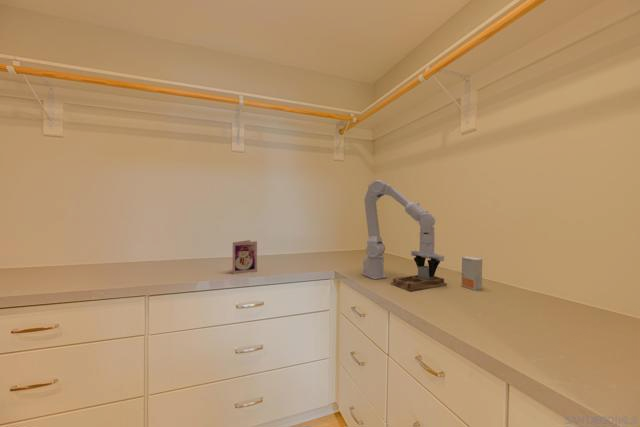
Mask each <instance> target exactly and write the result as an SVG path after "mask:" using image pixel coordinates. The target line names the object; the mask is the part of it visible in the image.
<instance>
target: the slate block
mask: <svg viewBox="0 0 640 427" xmlns="http://www.w3.org/2000/svg"><path fill="white" fill-rule="evenodd" d="M417 275H418V278H419V279H423V280H426V281H427V280H434V277H430V276H429V265H424V266H420V267H417Z"/></svg>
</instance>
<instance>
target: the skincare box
mask: <svg viewBox="0 0 640 427" xmlns="http://www.w3.org/2000/svg"><path fill="white" fill-rule="evenodd" d="M460 284H461V287H464V288H467V289H470V290H472V291H478V290H482V289H483V288H482V287H483V286H482V285H483V258H479V257H474V256H469V255H468V256H462V257H461V283H460Z"/></svg>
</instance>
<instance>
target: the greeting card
mask: <svg viewBox="0 0 640 427" xmlns="http://www.w3.org/2000/svg"><path fill="white" fill-rule="evenodd" d="M249 272H250V273H257V272H258V240H256V241H251V240H250V239H247V240H242V241H241V240H240V241H235V242H232V275H236V274H237V275H238V274H239V273H240V274H246V273H248V274H249ZM240 274H239V275H240Z"/></svg>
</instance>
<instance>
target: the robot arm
mask: <svg viewBox="0 0 640 427" xmlns="http://www.w3.org/2000/svg"><path fill="white" fill-rule="evenodd" d="M367 188H368V189H367V191H366V193H365V197H364V199H363V200H364V206H365V208H364V209H365V217H366V218H365V219H366V227H367V232H368V235H367V236H368V238H367V242H366V244H367V246H366V249H365V250H366V251H365V252H366V256H365V257H364V259H363V264H362V266H363V267H362V268H363V272H362V273H361V275H363V276H365V277H367V278H371V279H373V280H378V279H385V278H388V275H385V274H384V272H385V269H384V264H385V260H384V258H385V256H384V255H383V254H384V253H385V251H386V247H385V246H386V245H385V244H384V243H383V239H382V237H381V235H380V234H381V232H380V226H379V217H378V209H377V208H378V207H377V202H378V201H379V199H380V198H382V197H383V196H389V197H391V198H393V199H394V200H395V201H396V202H398V203H399V204H400V205H402V207H404V211H405V213H406V214H407V215H408V216H410V217H411V218H412V219H413V220H415V221H416V222H418V225H419V227H420V228H419V229H420V230H419V231H420V232H419V251H418V250H411V251H410V252H411V253H410V255H411V256H412V257H413V260H414V262H415V265H416V267H417V268H418V267H420V266H425V263H426V260H427V264H428V265H427V266H429V276H430V277H434V276H436V274H435V273H436V272H437V269H438V267H439V264H440V263H441V262H444V261H445V256H444V255H441V254H438V253H437V254H436V253H435V236H436V234H435V226H434V225H435V224H436V219H435V217H434V216H433V214H431V213H430V212H429V211H428V210H425V209H424V208H423V207H422V206H421V203H419V202H416V201H410V200H408V198H406V197H405V196H404V195H403V194H402V193H401V192H400V191H398V189H396V188H395V187H393V186H392V185H391V184H388V183H387V181H383V180H381V179H374V180H373V181H371V183H369V185H368V187H367Z"/></svg>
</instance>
